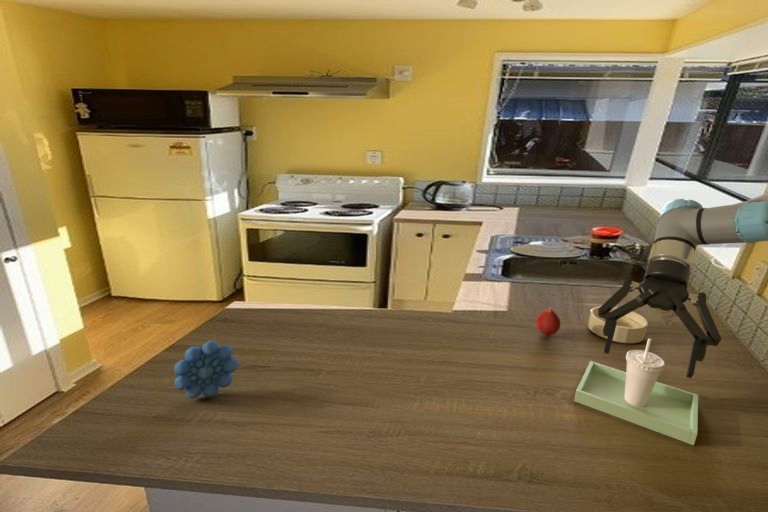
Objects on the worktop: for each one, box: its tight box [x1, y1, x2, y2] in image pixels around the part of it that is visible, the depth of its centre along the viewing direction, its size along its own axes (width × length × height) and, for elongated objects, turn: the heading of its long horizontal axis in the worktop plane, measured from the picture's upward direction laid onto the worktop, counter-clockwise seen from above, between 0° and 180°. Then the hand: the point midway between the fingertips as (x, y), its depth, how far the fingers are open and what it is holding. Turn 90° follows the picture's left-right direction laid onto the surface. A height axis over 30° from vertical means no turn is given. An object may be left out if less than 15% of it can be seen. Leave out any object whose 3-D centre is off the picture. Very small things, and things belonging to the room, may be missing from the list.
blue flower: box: [173, 340, 239, 400], centre depth 81 cm, size 12×7×12 cm, turn 106°
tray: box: [573, 360, 699, 446], centre depth 83 cm, size 20×14×2 cm
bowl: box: [587, 305, 649, 344], centre depth 112 cm, size 13×13×4 cm
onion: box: [535, 307, 561, 338], centre depth 108 cm, size 6×6×8 cm
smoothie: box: [624, 337, 666, 407], centre depth 82 cm, size 6×6×14 cm
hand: (646, 363), depth 80 cm, fingers open, 13 cm apart
